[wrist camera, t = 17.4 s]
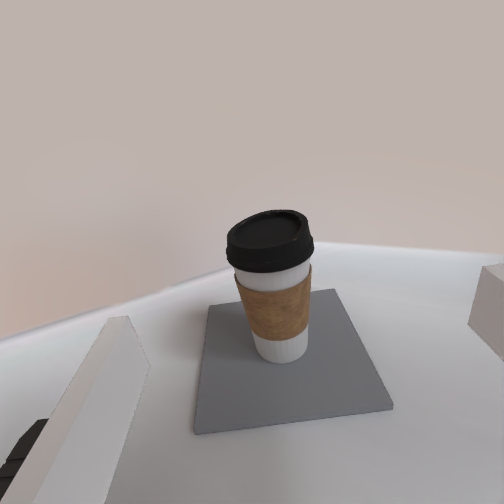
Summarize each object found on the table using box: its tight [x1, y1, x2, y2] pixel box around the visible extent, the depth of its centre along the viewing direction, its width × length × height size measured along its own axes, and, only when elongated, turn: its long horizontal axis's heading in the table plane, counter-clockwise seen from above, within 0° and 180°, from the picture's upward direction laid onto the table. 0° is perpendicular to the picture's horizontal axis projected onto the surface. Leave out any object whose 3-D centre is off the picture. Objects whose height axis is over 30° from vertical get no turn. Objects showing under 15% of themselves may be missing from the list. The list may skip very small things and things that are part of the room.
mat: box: [194, 289, 393, 435], centre depth 35 cm, size 18×18×1 cm
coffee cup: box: [226, 210, 314, 364], centre depth 31 cm, size 8×8×15 cm
